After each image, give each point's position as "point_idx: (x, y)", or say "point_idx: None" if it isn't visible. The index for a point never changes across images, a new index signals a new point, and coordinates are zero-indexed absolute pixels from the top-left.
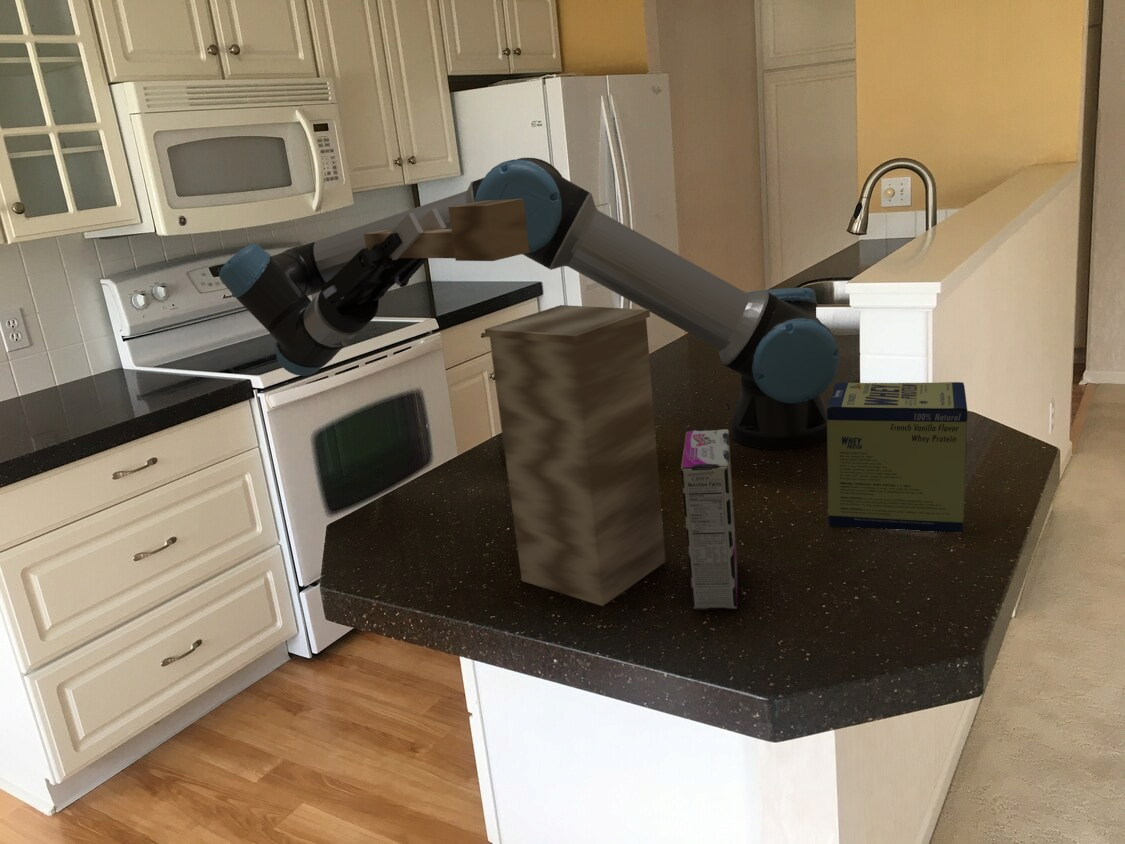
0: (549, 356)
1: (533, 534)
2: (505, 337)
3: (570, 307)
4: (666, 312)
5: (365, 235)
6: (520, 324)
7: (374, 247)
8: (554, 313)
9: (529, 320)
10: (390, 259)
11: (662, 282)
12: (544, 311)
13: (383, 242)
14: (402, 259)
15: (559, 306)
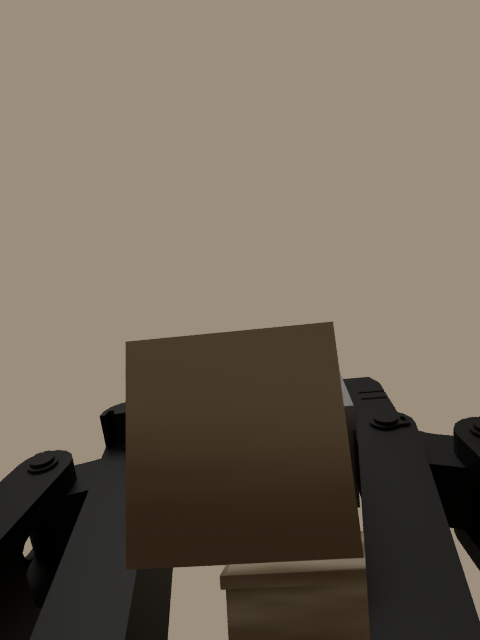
0: None
1: None
2: None
3: (237, 566)
4: None
5: (332, 341)
6: (364, 559)
7: (412, 427)
8: (283, 563)
9: (337, 562)
10: (137, 618)
11: None
12: (272, 571)
13: (391, 406)
14: (159, 580)
15: (231, 573)
